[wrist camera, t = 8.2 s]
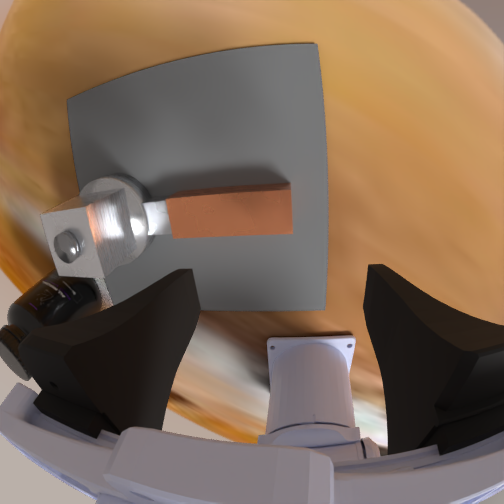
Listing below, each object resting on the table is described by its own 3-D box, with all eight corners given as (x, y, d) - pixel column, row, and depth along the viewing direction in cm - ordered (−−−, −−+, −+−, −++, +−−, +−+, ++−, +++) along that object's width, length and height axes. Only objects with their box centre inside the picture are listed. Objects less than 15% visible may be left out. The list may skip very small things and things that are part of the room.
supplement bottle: (86, 255, 24) (3, 330, 13) (114, 314, 26) (52, 397, 16) (49, 264, 25) (-23, 325, 14) (74, 315, 28) (16, 383, 17)
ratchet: (293, 249, 20) (294, 279, 17) (100, 255, 23) (73, 278, 19) (288, 151, 17) (288, 158, 14) (81, 180, 20) (48, 194, 16)
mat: (324, 307, 23) (325, 310, 22) (115, 303, 26) (113, 305, 25) (316, 44, 14) (317, 43, 14) (69, 99, 17) (66, 99, 17)
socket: (137, 247, 20) (100, 283, 15) (92, 249, 20) (54, 280, 16) (124, 187, 18) (79, 210, 13) (79, 195, 18) (34, 217, 14)
